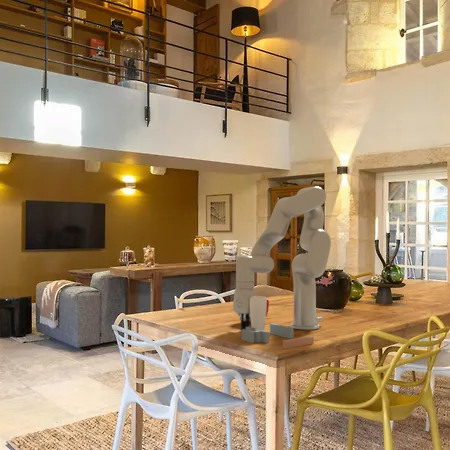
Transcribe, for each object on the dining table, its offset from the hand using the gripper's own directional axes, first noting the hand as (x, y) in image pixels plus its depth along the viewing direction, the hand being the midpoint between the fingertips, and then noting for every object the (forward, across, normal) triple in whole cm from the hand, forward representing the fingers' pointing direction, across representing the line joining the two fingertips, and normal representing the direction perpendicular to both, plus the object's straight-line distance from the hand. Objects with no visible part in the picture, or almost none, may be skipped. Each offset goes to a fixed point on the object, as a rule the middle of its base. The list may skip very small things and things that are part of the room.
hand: (245, 329), depth 213 cm
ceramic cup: (+1, -14, +16) cm, 21 cm away
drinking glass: (+1, +8, 0) cm, 8 cm away
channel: (+1, +21, -2) cm, 21 cm away
